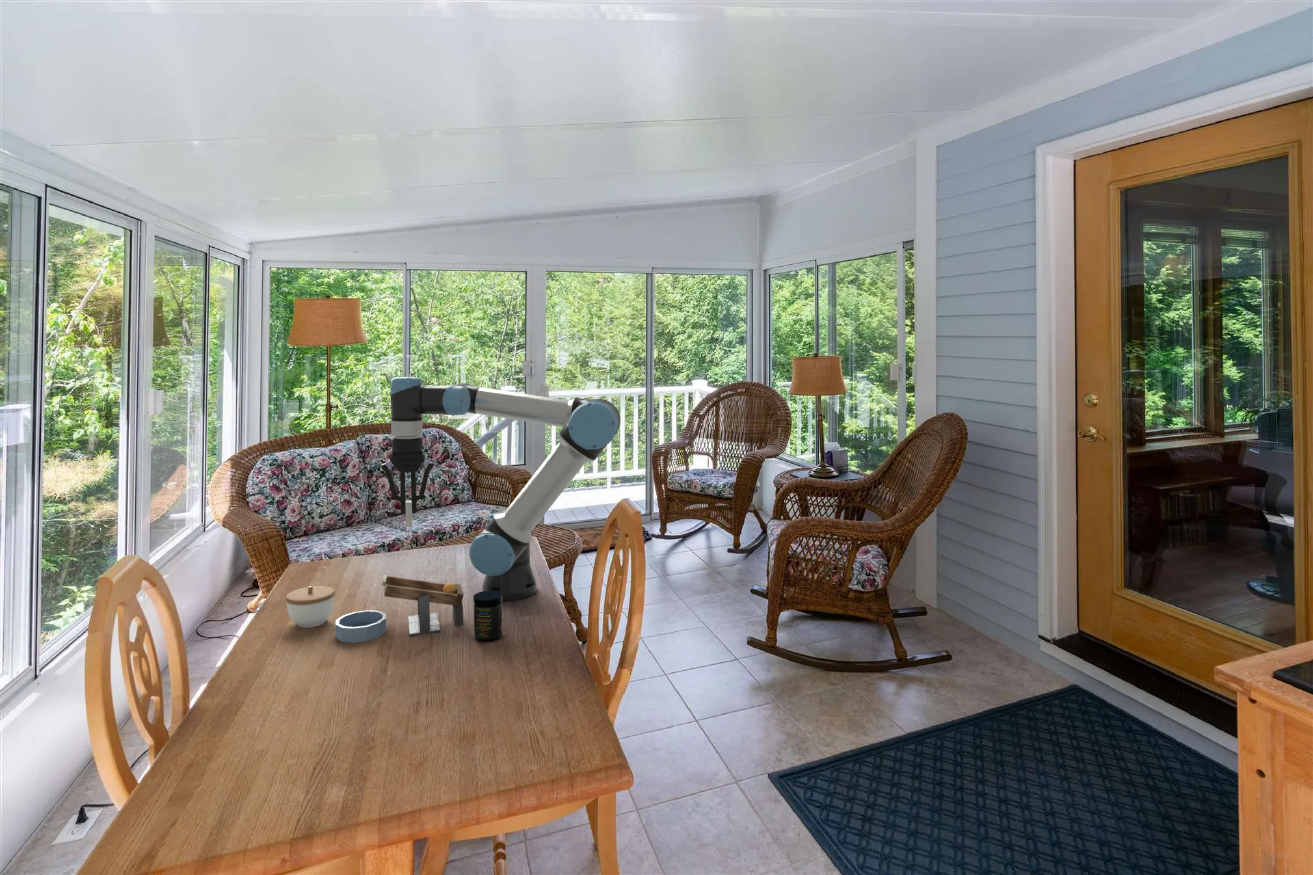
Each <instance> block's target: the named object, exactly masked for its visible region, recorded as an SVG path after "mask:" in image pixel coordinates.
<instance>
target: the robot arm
mask: <svg viewBox="0 0 1313 875" xmlns="http://www.w3.org/2000/svg"><path fill="white" fill-rule="evenodd" d="M390 381H391V382H390V394H389V397H390V412H391V417H390V420H391V421H390V424H391V425H390V426H391V427H390V430H391V432H390V433H391V436H393V437H392V439H391V456H390V458H389V460H388V461H386V462H385V463H382V464H381V469H382V470H383V472H384V473H385V475H386V479H387V482H388V485H389V486H388V487H389V490H390V492H391V495H392V499H393V500H394V501H398V502H399V503H400V513H401V515H405V527H406V528H412V527H413V515H414V514H417V510H418V509H417V502H418V501H419V500H422V499H424V496H425V492H426V488H427V483H428V480H429V476H430V472H431V471H432V469H433V467H434V463H433V462H432V461H430V460H427V459H426V456H425V455H424V447H423V446H424V444H423V437H422V435H423V415H436V416H437V415H440V416H443V415H444V416H453V417H454V416H465V415H466V414H467V413H469V414H475V415H484V416H489V417H495V418H496V417H497V418H501V419H507V420H509V419H510V420H515V421H521V422H526V423H527V422H529V423H534V424H539V425H547V426H553V427H560V428H561V430H560V431H559V432H558V438H559V441H558V443H557V444H556V446H555V447H554V448H553V449H552V450H551V452H550V453H549V455H548V456H547V457H546V458H545V460H544V461H543V463H542V464H541V465H540V466H539V468H538V469H537V470H536V471H535V473H534V474H533V475H532V476H531V478H530V479H529V480H528V482H527V483H526V485H524V486H523V488H522V489H521V491H520V492H519V493H518V495H517V496H516V497H515V498H514V500H513V501H512V502H511V503H510V505H508V507H507V508H506V510H505V511H499V512H497V511H496V512H492V513H489V514H488V516H487V521H486V523H487V525H486V526H485V527H484V528H483V530H481V532H480V533H479V534H478V535H476V536H475V537H474V538H473V540H472V541H471V543H470V546H469V551H468V552H469V553H468V554H469V555H468V556H469V560H470V562H471V564H472V566H473V567H474V569H475V570H477V571H478V572H479V573H481V574H482V575H485V576H484V579H483V583H482V588H481V589H482V590H481V592H482V591H498V592H501V593H502V602H503V601H507V602H508V601H517V600H522V599H526V598H529V597H531V596H533V595H534V594H535V593H536V592H537V581H536V578H535V575H534V572H533V569H532V565H531V542H532V531H533V530H534V529H535V527H536V526H537V525H538V523H539V522H540V521H541V519H542V518H543V517H544V516H545V514H547V512H548V511H549V510H550V508H552V506H553V505H554V503H555V502H556V501H557V499H558V498H559V497H560V496H561V494H562V493H563V492H564V490H565V489H566V488H567V486H569V485H570V483H571V482H572V481H573V479H574V478H575V477H576V475H577V474H578V473H579V472H580V470H581V469H582V467H584V465H586V463H589V462H594V461H595V460H596V459H598V457H599V456H600V455H601V454H602V452H603V451H604V450H605V448H606V447H607V446H608V444H610V443H611V442H612V441H613V439H614V437H615V436H616V434H617V433H618V431H619V429H620V426H621V416H620V413H619V412H620V411H619V410H618V408H617V407H616V406H615V405H614V404H613V403H612V402H611V401H608V400H606V399H603V398H591V399H590V398H580V397H579V398H578V397H573V398H571V400H569V399H561V398H555V397H548V396H542V395H534V394H530V393H521V392H516V391H511V390H510V391H509V390H503V389H496V388H489V387H482V386H475V385H471V384H468V383H456V384H448V385H427V384H426V385H425V384H423V383H422V379H421V377H416V376H415V377H413V376H411V377H410V376H395V377H393V378H392V379H391V380H390ZM392 465H393V466H394V467H395V469H396V470H397V471H398V472H399V477H400V478H399V482H400V483H399V484H400V485H399V486H400V495H399V494H398V490H397V487H396V484H395V481H394V477H393V473H392V468H393V467H392ZM422 465H423V469H424V470H423V474H422V478H421V483H420V487H419V492H418V493H417V471H418V470H419V469H420V467H421V466H422ZM406 473H410V495H411V497H410V498H411V500H406V495H407V494H406ZM530 595H531V596H530Z"/></svg>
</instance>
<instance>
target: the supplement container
mask: <svg viewBox="0 0 1313 875" xmlns="http://www.w3.org/2000/svg"><path fill="white" fill-rule="evenodd" d="M472 598H473V599H472V604H473V637H474V639H475V641H477V642H479V643H492V642H495V641H498V640H500V639H501V638H502V637H503V631H504V629H503V627H504V626H503V601H502V593H501V592H498V591H482V590H481V591H478V592H476V593H474V594H473V595H472Z"/></svg>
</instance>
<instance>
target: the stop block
mask: <svg viewBox="0 0 1313 875" xmlns="http://www.w3.org/2000/svg"><path fill="white" fill-rule="evenodd" d="M463 604H464V603H463V602H462V603H461V606H455V605H452V619H453V623H454V626H461V625H464V606H463Z"/></svg>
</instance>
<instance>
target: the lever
mask: <svg viewBox="0 0 1313 875" xmlns="http://www.w3.org/2000/svg"><path fill="white" fill-rule="evenodd" d="M446 584H447V583H442V582H435V581H427V580H419V579H413V578H407V577H403V576H402V577H401V576H393V575H386V574H383V575H382V586H383V587H384V590H383V592H384V593H383V594H384V595H383V596H384V597H385V598H386V597H387V598H395V599H400V600H409V601H416V602H417V601H419V596H420V595H429V603H434V604H439V605H448V606H453V605H455V606H461V603H462V604H463V599H464V595H465V594H464V591H463V588H462V584H460V583H454V585H455V586H456V592H455V593H454V594H451V593H444V592H443V587H444V586H445V585H446Z"/></svg>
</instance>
